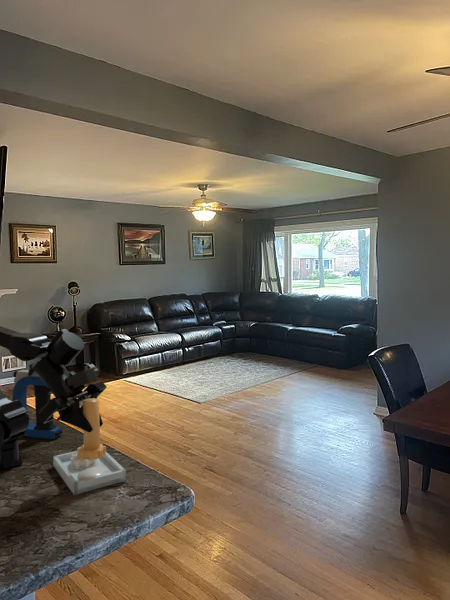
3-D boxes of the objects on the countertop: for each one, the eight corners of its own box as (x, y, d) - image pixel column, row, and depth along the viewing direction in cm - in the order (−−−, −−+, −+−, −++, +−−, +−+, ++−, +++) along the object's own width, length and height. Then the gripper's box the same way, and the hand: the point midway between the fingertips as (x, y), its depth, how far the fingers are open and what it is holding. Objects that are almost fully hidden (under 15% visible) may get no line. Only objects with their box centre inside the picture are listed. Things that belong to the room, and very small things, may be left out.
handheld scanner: (61, 440, 133) (60, 372, 132) (11, 436, 136) (10, 370, 135) (69, 435, 137) (68, 369, 136) (21, 431, 140) (20, 367, 139)
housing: (53, 466, 116) (52, 446, 115) (100, 455, 122) (99, 437, 122) (74, 495, 101) (73, 473, 100) (126, 480, 108) (125, 460, 107)
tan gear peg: (72, 456, 107) (71, 401, 106) (93, 447, 112) (92, 395, 111) (90, 462, 104) (89, 406, 103) (111, 453, 109) (110, 399, 108)
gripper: (48, 363, 99) (92, 419, 96) (99, 348, 116) (138, 396, 113) (20, 395, 102) (62, 451, 99) (74, 377, 120) (111, 423, 117)
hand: (96, 428), depth 107 cm, fingers closed on tan gear peg, 4 cm apart
